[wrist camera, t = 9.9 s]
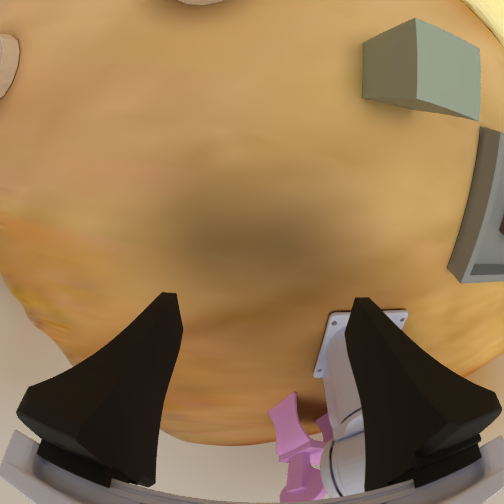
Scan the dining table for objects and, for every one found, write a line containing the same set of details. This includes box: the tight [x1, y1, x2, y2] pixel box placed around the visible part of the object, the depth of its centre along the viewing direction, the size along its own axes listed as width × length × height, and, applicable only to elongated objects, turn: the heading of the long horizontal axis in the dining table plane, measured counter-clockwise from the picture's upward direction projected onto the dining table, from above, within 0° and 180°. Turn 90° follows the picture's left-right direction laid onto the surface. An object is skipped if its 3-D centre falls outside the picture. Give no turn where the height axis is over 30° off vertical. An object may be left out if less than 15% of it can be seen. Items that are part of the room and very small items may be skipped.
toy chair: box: [268, 392, 334, 503], centre depth 25 cm, size 8×9×15 cm
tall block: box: [362, 18, 481, 121], centre depth 10 cm, size 4×4×7 cm
